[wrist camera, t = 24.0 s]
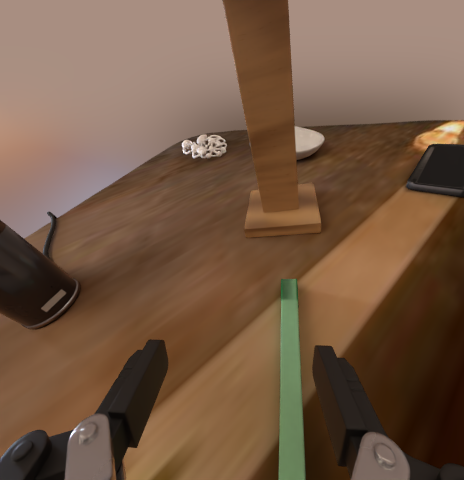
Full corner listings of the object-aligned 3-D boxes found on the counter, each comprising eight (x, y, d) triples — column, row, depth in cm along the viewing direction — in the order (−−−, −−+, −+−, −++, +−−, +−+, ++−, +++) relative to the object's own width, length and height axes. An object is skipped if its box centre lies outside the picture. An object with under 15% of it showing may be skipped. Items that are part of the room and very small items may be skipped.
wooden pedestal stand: (321, 237, 32) (338, -189, 12) (245, 242, 36) (151, -78, 15) (312, 188, 42) (312, -90, 21) (253, 196, 46) (203, -37, 25)
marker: (311, 589, 13) (311, 601, 12) (279, 576, 13) (275, 585, 12) (297, 287, 27) (296, 278, 26) (282, 287, 28) (281, 278, 27)
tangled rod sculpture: (239, 152, 69) (237, 139, 66) (199, 167, 65) (195, 154, 62) (215, 140, 83) (212, 129, 80) (180, 152, 79) (176, 141, 76)
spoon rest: (334, 149, 52) (336, 117, 47) (299, 170, 49) (298, 138, 44) (269, 138, 69) (265, 113, 64) (240, 153, 65) (234, 128, 61)
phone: (406, 182, 35) (430, 143, 41) (404, 188, 35) (428, 149, 42) (474, 191, 30) (490, 145, 36) (471, 198, 31) (486, 151, 37)
